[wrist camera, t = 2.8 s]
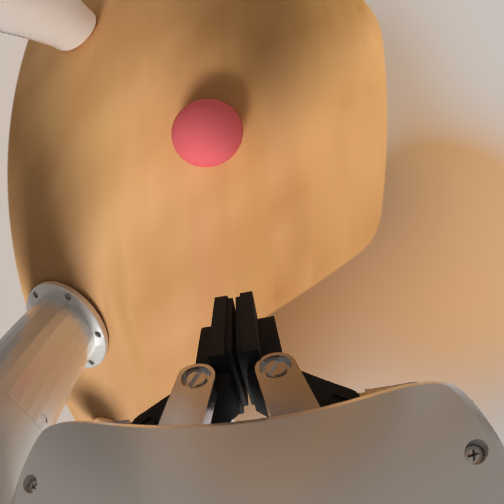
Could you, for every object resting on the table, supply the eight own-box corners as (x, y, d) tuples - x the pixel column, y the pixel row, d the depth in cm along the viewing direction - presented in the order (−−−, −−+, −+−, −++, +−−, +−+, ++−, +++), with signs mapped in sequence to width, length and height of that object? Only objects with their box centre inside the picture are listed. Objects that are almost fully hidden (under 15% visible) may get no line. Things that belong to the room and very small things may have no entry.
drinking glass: (50, 31, 15) (-30, -7, 1) (99, -2, 15) (34, -65, 1) (57, 69, 17) (-40, 39, 3) (109, 34, 17) (29, -32, 3)
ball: (221, 177, 23) (218, 182, 18) (167, 149, 22) (150, 147, 17) (253, 123, 22) (259, 114, 17) (198, 96, 21) (189, 79, 15)
